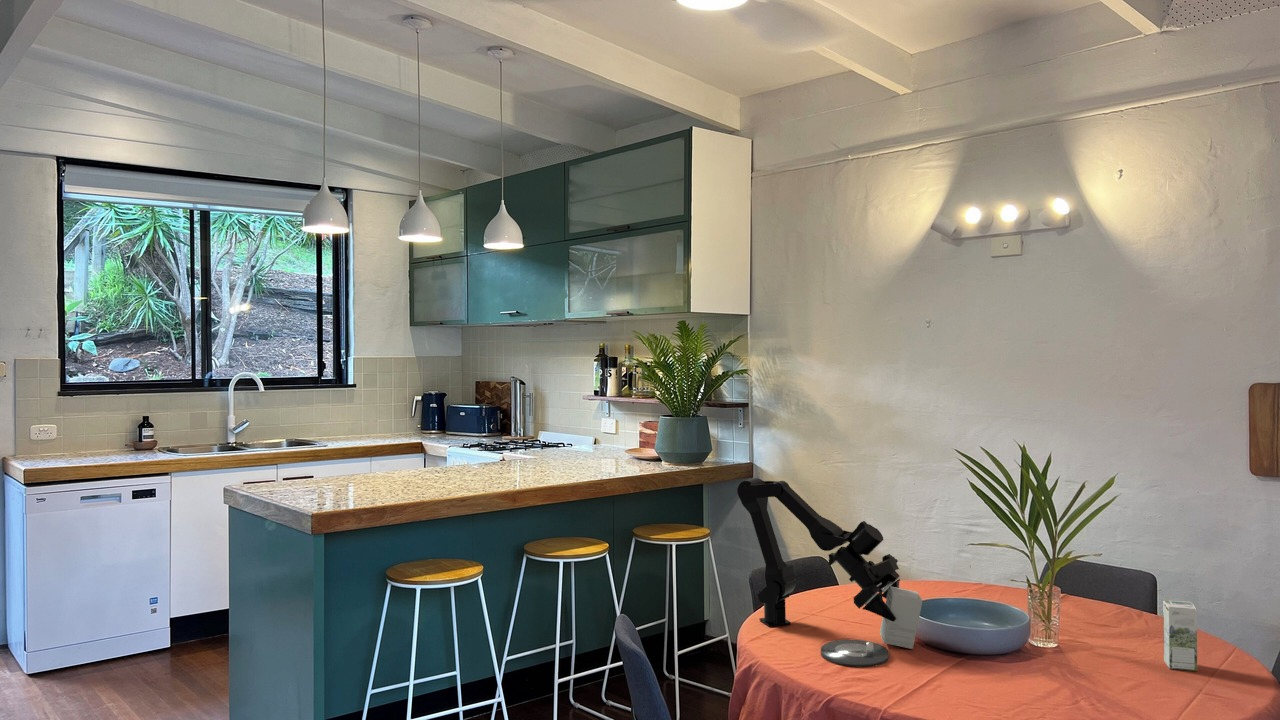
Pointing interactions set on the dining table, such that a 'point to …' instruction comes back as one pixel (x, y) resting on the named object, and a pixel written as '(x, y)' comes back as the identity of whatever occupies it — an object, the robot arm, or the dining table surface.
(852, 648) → the base plate
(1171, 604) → the syrup box
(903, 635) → the supplement box
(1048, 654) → the dining table surface
